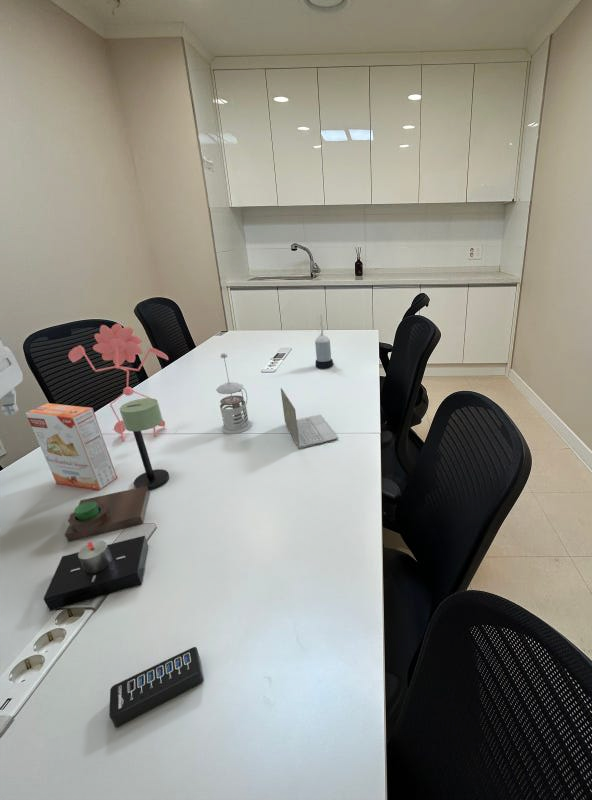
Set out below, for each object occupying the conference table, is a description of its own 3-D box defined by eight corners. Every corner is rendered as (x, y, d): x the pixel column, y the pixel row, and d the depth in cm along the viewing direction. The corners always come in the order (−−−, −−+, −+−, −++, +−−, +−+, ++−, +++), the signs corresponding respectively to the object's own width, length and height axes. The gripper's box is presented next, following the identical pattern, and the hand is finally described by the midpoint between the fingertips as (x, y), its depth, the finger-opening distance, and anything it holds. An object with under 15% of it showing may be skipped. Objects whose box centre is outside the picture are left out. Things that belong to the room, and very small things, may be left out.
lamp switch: (74, 523, 81) (71, 515, 80) (80, 511, 84) (77, 503, 83) (97, 517, 82) (94, 510, 81) (101, 506, 85) (98, 499, 85)
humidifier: (336, 366, 180) (332, 312, 170) (319, 370, 177) (315, 315, 166) (329, 362, 187) (325, 310, 177) (313, 365, 183) (308, 312, 173)
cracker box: (54, 485, 99) (23, 412, 91) (76, 472, 105) (48, 401, 96) (99, 492, 96) (70, 417, 88) (118, 478, 102) (93, 406, 93)
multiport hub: (204, 682, 55) (200, 671, 54) (114, 729, 50) (108, 718, 49) (199, 655, 58) (196, 645, 57) (115, 696, 53) (110, 686, 52)
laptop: (338, 439, 117) (336, 400, 112) (298, 449, 113) (293, 409, 108) (321, 416, 132) (317, 380, 127) (284, 424, 128) (280, 387, 123)
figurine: (184, 433, 124) (156, 324, 109) (91, 447, 117) (49, 333, 103) (189, 413, 137) (165, 314, 123) (106, 425, 130) (71, 322, 116)
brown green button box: (67, 544, 80) (60, 529, 79) (83, 507, 91) (78, 493, 89) (142, 525, 85) (138, 510, 83) (150, 492, 95) (145, 479, 94)
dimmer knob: (115, 563, 71) (109, 547, 70) (87, 577, 68) (80, 561, 67) (108, 551, 74) (102, 535, 73) (81, 564, 71) (74, 548, 70)
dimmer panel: (49, 611, 66) (42, 598, 65) (67, 567, 74) (61, 555, 73) (141, 584, 70) (137, 571, 69) (148, 546, 79) (144, 534, 78)
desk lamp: (132, 494, 95) (106, 416, 86) (137, 477, 102) (113, 402, 93) (176, 484, 98) (155, 408, 90) (178, 468, 105) (159, 396, 96)
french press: (214, 431, 124) (198, 357, 114) (236, 416, 134) (223, 346, 124) (241, 435, 121) (227, 359, 111) (261, 419, 131) (250, 348, 121)
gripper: (-26, 335, 70) (4, 404, 76) (-103, 370, 53) (-56, 456, 59) (17, 332, 73) (43, 399, 78) (-44, 364, 55) (-4, 448, 61)
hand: (0, 424), depth 68 cm, fingers open, 8 cm apart
